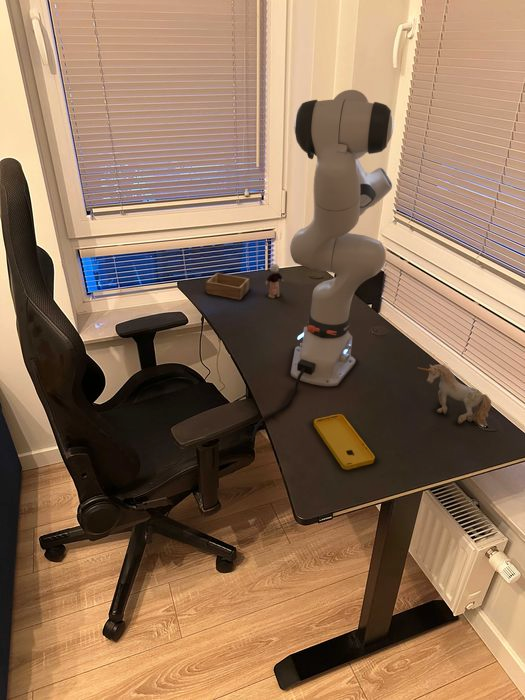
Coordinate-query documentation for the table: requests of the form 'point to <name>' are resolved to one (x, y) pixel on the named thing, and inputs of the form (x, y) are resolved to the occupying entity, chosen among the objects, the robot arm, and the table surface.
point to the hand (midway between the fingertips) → (315, 234)
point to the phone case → (343, 442)
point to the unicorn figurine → (459, 395)
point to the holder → (227, 286)
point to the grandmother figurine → (274, 281)
